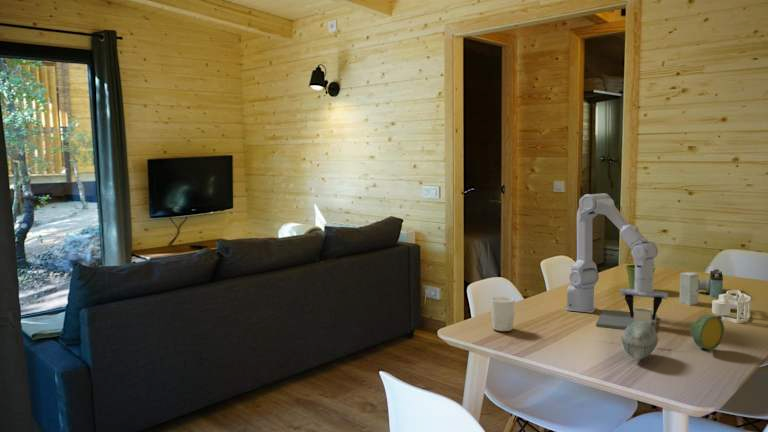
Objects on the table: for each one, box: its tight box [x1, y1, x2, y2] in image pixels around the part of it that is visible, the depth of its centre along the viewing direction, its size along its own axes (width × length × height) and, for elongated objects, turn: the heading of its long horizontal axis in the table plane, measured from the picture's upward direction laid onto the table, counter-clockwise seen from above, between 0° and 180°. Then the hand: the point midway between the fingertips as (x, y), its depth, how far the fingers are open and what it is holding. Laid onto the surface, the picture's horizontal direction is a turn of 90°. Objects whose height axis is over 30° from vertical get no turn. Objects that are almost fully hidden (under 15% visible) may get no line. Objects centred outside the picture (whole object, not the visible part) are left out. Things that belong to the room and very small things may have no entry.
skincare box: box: [678, 271, 699, 307], centre depth 222 cm, size 6×4×12 cm
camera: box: [698, 268, 724, 299], centre depth 237 cm, size 16×10×10 cm, turn 151°
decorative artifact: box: [689, 314, 725, 351], centre depth 173 cm, size 10×7×10 cm
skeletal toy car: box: [711, 289, 752, 324], centre depth 206 cm, size 20×11×7 cm, turn 140°
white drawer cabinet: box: [633, 306, 653, 324], centre depth 195 cm, size 5×5×5 cm
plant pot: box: [624, 264, 657, 289], centre depth 241 cm, size 12×12×11 cm
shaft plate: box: [595, 309, 658, 331], centre depth 200 cm, size 18×20×4 cm
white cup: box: [490, 296, 516, 332], centre depth 194 cm, size 8×8×10 cm
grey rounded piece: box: [621, 321, 659, 360], centre depth 166 cm, size 14×10×10 cm
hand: (642, 317), depth 195 cm, fingers open, 6 cm apart
